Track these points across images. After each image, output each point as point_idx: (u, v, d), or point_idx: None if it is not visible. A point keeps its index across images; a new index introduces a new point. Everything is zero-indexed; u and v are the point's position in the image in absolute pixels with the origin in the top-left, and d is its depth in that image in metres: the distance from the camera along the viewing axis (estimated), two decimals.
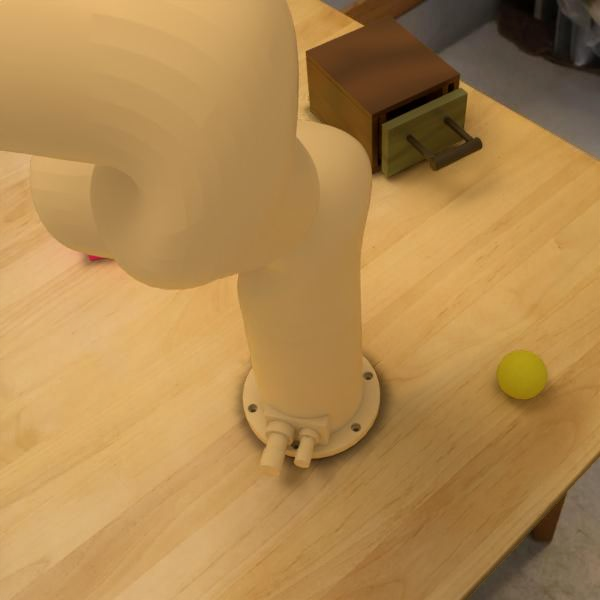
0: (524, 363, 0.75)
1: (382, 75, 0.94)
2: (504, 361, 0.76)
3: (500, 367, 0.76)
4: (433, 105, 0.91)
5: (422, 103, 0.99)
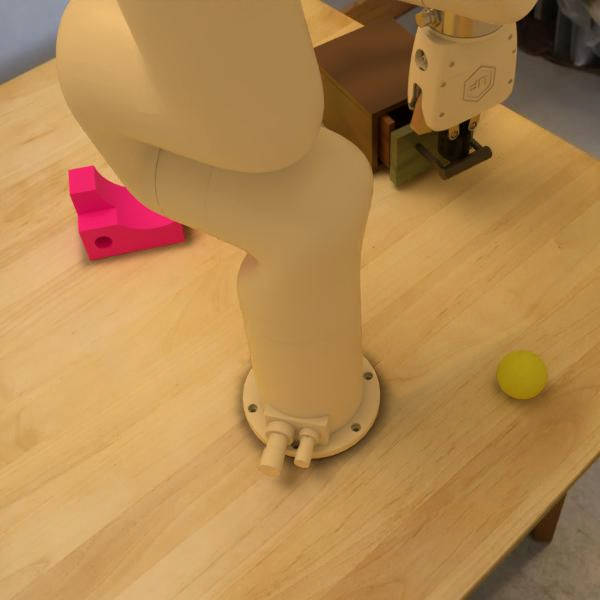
0: (524, 363, 0.75)
1: (382, 75, 0.94)
2: (504, 361, 0.76)
3: (500, 367, 0.76)
4: None
5: None
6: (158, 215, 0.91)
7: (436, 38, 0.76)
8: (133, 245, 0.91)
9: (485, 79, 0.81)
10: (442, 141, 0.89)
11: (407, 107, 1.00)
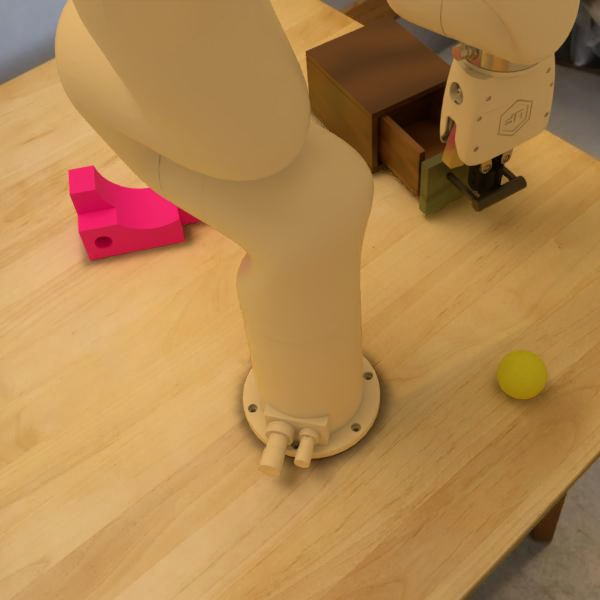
0: (524, 363, 0.75)
1: (382, 75, 0.94)
2: (504, 361, 0.76)
3: (500, 367, 0.76)
4: None
5: None
6: (158, 215, 0.91)
7: (473, 71, 0.73)
8: (133, 245, 0.91)
9: (521, 113, 0.78)
10: (473, 174, 0.86)
11: (435, 133, 0.97)
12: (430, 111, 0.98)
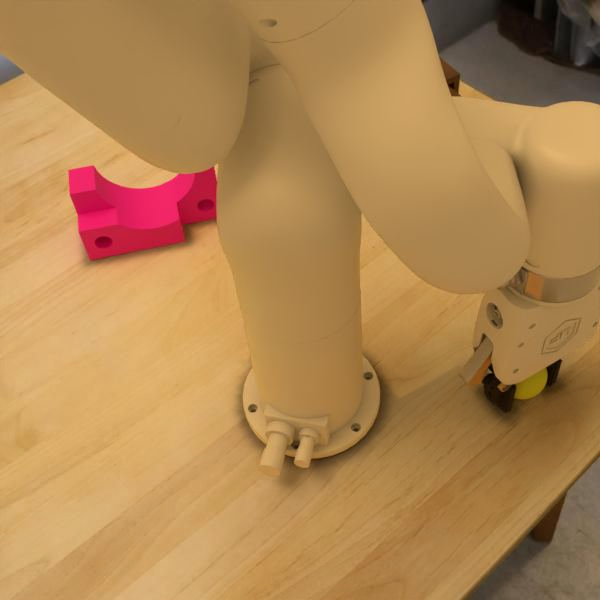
0: None
1: None
2: None
3: None
4: None
5: None
6: (158, 215, 0.91)
7: (515, 298, 0.63)
8: (133, 245, 0.91)
9: (568, 330, 0.68)
10: (490, 387, 0.75)
11: None
12: None
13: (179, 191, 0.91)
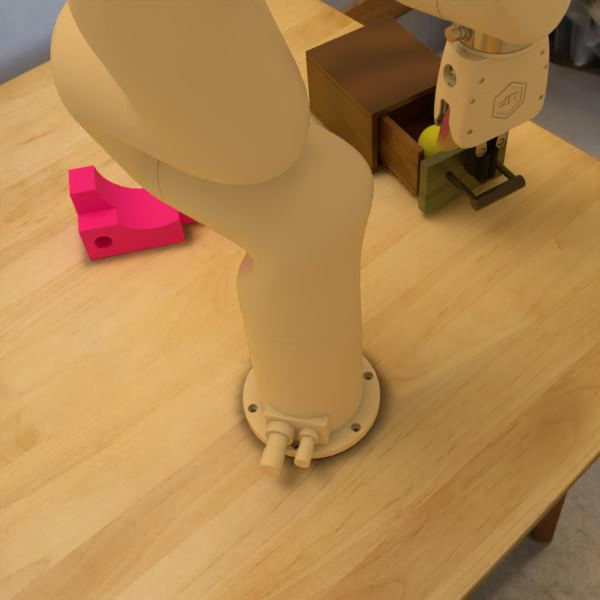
0: None
1: (382, 75, 0.94)
2: (425, 131, 0.92)
3: (421, 136, 0.92)
4: None
5: None
6: (158, 215, 0.91)
7: (466, 53, 0.73)
8: (133, 245, 0.91)
9: (515, 95, 0.78)
10: (468, 157, 0.86)
11: None
12: (429, 110, 0.98)
13: None
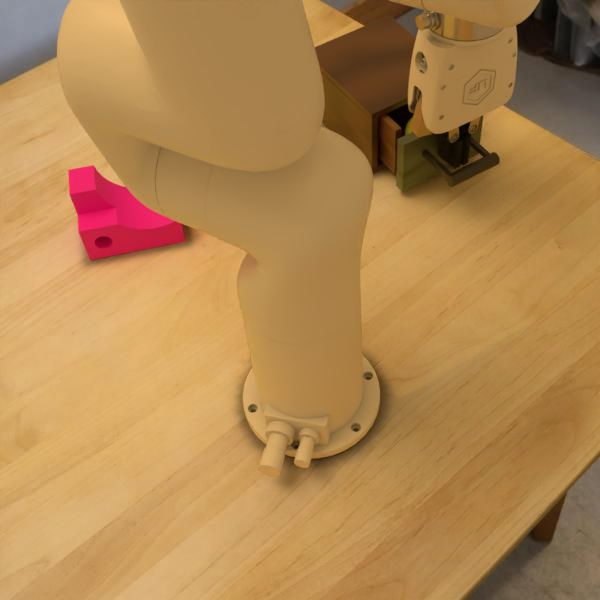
0: None
1: (382, 75, 0.94)
2: None
3: None
4: None
5: None
6: (158, 215, 0.91)
7: (436, 41, 0.76)
8: (133, 245, 0.91)
9: (485, 82, 0.81)
10: (442, 144, 0.89)
11: (413, 113, 0.99)
12: None
13: None
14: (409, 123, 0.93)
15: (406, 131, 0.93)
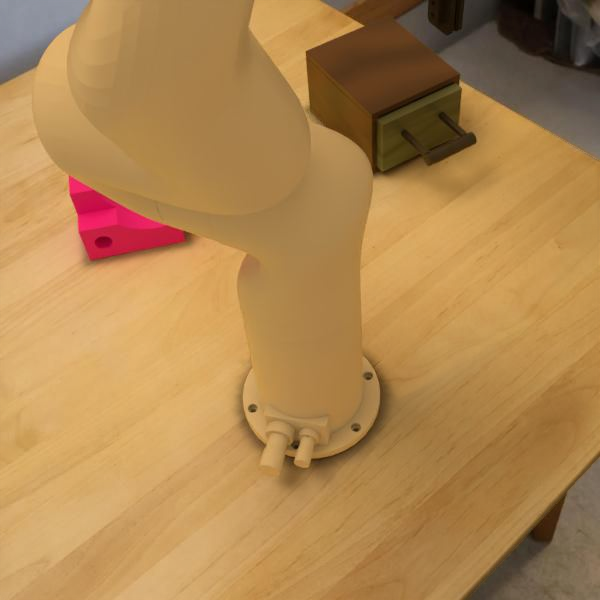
0: None
1: (382, 75, 0.94)
2: None
3: None
4: (428, 100, 0.92)
5: None
6: None
7: None
8: (133, 245, 0.91)
9: None
10: (432, 4, 0.78)
11: None
12: None
13: None
14: None
15: None
